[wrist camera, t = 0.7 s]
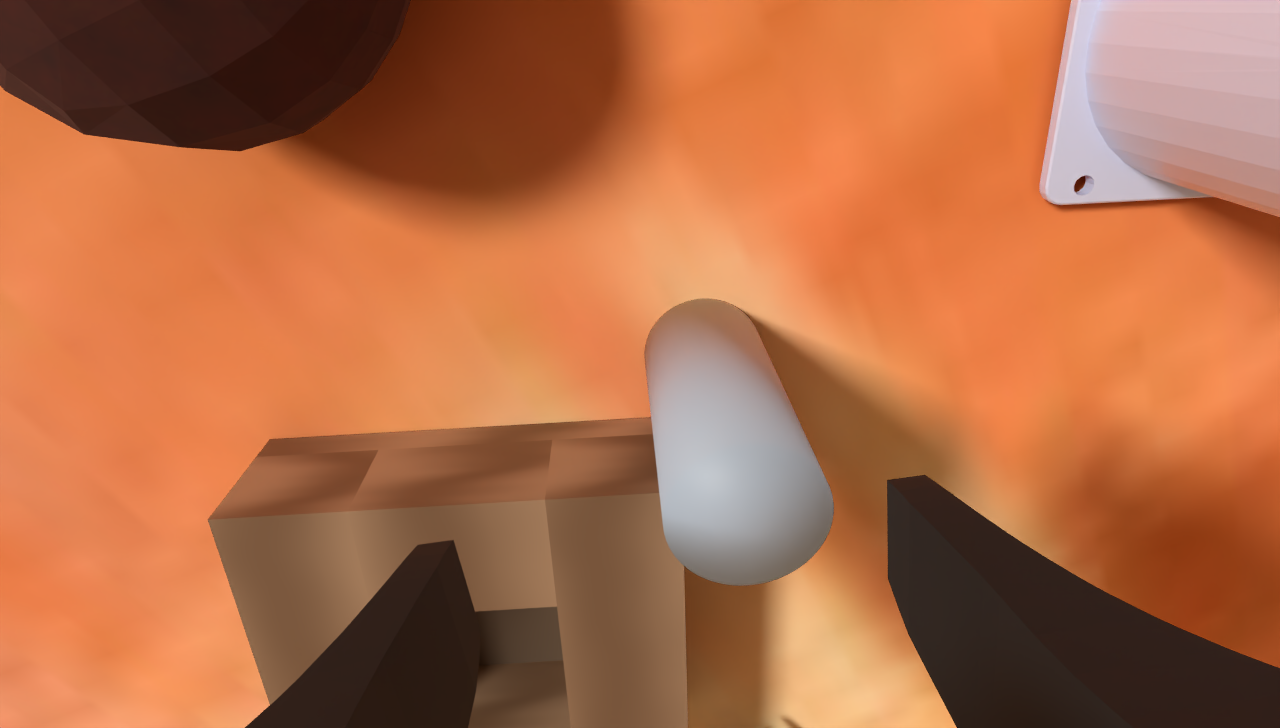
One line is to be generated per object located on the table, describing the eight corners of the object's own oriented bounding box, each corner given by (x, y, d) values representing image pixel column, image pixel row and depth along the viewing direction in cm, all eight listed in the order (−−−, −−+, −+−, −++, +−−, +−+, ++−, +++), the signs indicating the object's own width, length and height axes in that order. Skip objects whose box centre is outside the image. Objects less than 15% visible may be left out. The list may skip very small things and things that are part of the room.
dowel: (762, 295, 22) (839, 438, 15) (759, 402, 23) (828, 580, 16) (642, 302, 22) (660, 448, 15) (646, 408, 23) (665, 590, 16)
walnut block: (670, 416, 23) (682, 491, 20) (679, 703, 29) (690, 805, 25) (269, 439, 23) (207, 519, 20) (349, 725, 28) (312, 830, 25)
